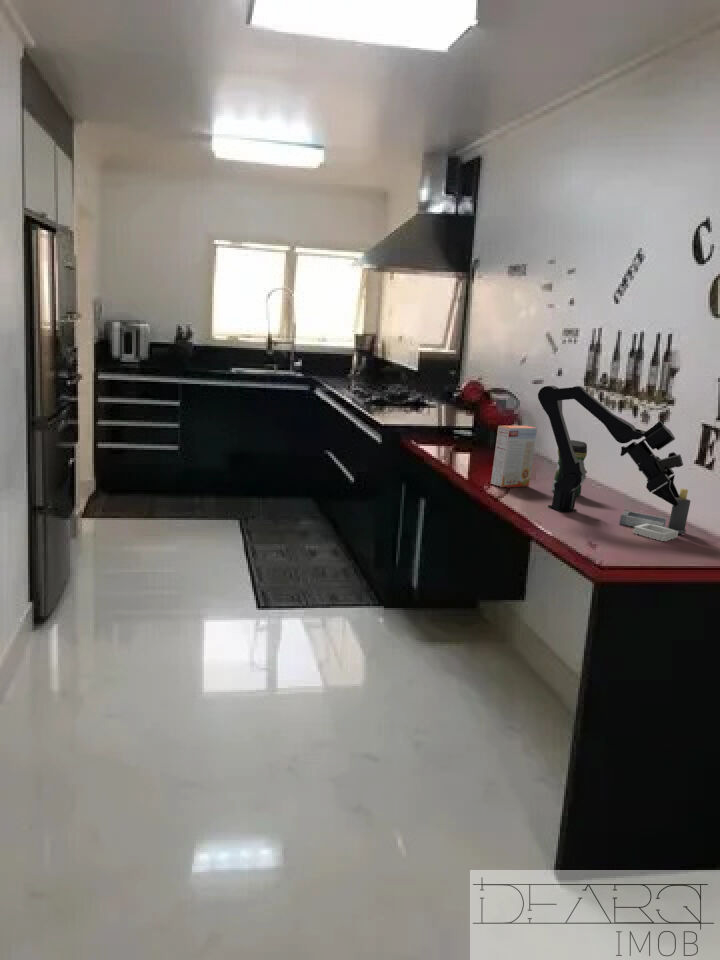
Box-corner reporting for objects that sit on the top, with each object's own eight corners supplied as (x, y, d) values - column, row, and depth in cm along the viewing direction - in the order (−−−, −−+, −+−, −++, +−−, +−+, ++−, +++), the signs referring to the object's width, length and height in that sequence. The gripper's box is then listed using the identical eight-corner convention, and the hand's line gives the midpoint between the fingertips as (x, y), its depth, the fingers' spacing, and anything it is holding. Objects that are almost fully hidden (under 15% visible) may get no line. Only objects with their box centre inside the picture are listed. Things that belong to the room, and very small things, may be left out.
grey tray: (619, 524, 236) (620, 515, 236) (623, 518, 244) (625, 510, 244) (661, 532, 231) (663, 523, 231) (664, 527, 239) (666, 518, 239)
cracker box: (516, 483, 284) (525, 425, 280) (529, 486, 279) (538, 427, 275) (488, 484, 276) (497, 424, 271) (501, 488, 271) (510, 427, 267)
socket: (664, 541, 220) (665, 534, 220) (633, 533, 226) (634, 526, 226) (677, 537, 227) (678, 531, 227) (646, 529, 233) (647, 523, 233)
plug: (676, 535, 230) (685, 491, 228) (662, 530, 235) (671, 487, 232) (688, 534, 233) (697, 491, 230) (674, 529, 237) (682, 487, 235)
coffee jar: (576, 492, 278) (585, 440, 275) (582, 497, 271) (591, 443, 267) (549, 489, 279) (557, 437, 275) (553, 494, 271) (562, 440, 267)
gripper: (665, 446, 223) (700, 492, 221) (671, 440, 240) (704, 483, 237) (632, 469, 228) (665, 514, 225) (640, 462, 244) (671, 503, 242)
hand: (678, 502), depth 232 cm, fingers open, 9 cm apart
